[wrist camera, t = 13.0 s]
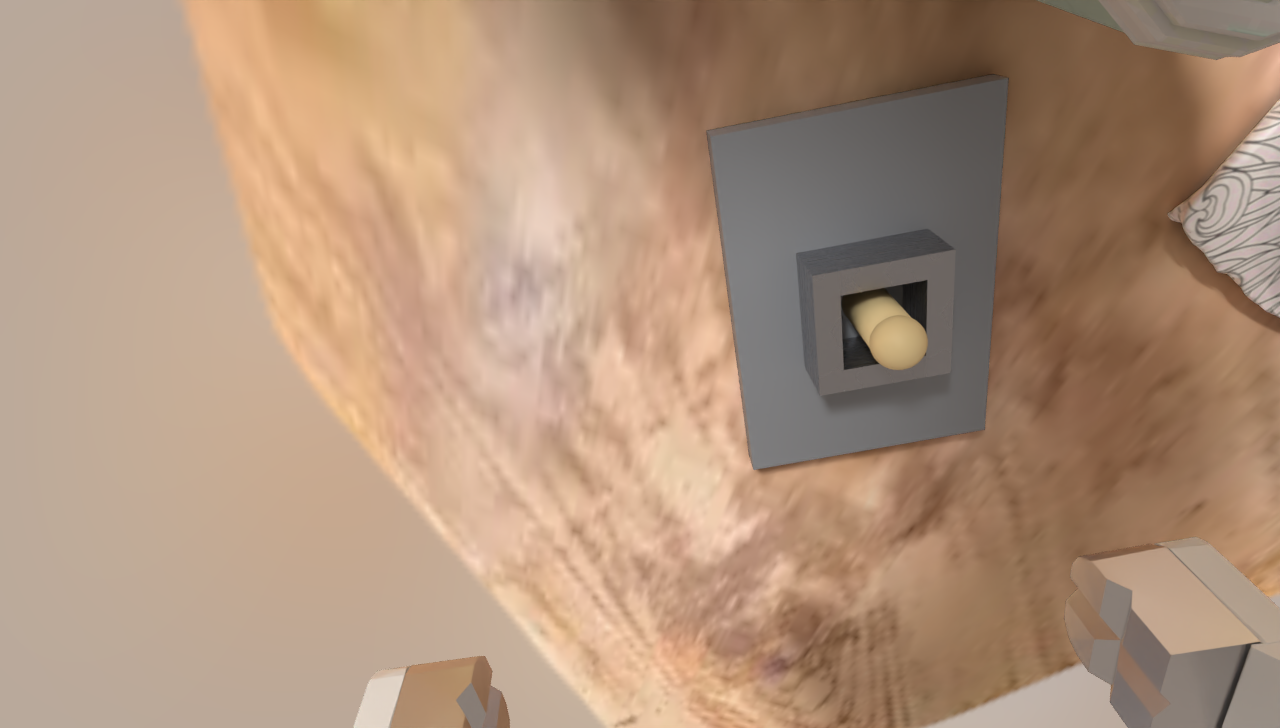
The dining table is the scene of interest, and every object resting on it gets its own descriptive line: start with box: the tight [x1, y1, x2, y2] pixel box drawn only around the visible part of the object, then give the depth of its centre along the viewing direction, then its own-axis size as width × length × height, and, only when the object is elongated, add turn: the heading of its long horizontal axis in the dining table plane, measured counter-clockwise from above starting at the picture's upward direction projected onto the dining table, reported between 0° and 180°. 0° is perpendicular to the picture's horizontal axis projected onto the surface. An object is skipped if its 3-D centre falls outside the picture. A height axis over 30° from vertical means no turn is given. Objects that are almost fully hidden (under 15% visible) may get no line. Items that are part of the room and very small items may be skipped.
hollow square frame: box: [796, 229, 956, 396], centre depth 36 cm, size 7×7×3 cm
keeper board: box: [706, 74, 1009, 470], centre depth 36 cm, size 20×14×8 cm
